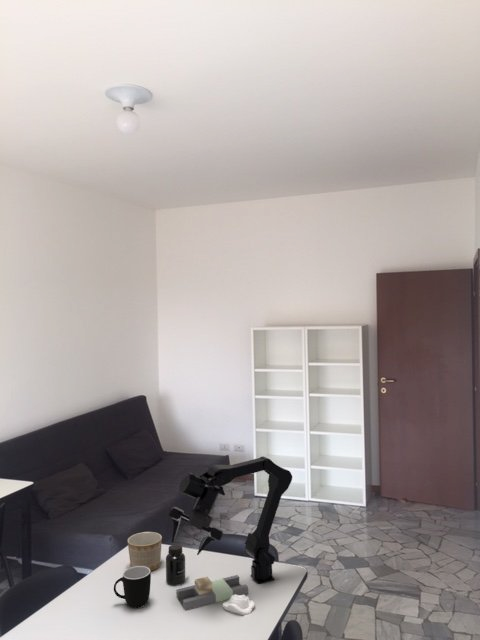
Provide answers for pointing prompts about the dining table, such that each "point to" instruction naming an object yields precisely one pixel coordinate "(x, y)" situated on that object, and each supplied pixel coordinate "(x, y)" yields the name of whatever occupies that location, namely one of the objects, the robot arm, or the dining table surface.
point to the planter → (145, 549)
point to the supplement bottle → (175, 565)
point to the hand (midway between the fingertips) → (184, 548)
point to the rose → (239, 604)
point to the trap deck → (211, 593)
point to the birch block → (203, 585)
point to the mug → (135, 586)
